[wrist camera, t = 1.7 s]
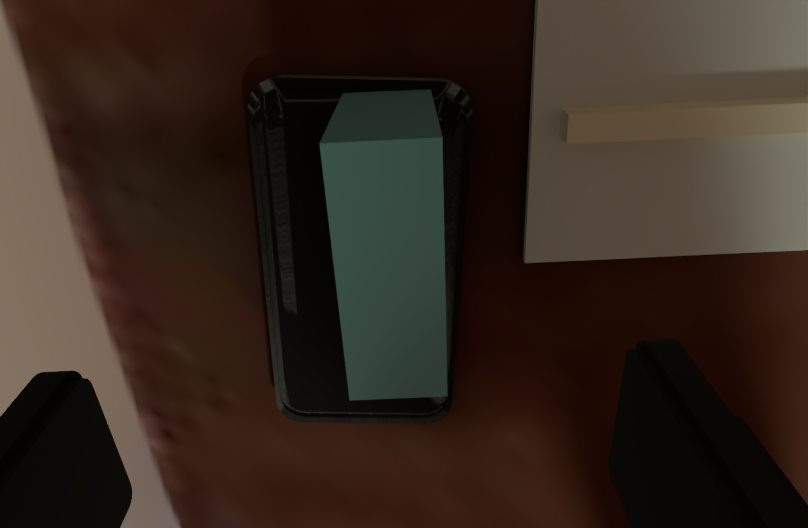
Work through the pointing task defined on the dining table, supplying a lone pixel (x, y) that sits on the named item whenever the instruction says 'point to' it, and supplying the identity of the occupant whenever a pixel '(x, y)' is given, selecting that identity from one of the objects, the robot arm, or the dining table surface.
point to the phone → (311, 244)
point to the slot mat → (667, 129)
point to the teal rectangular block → (388, 241)
